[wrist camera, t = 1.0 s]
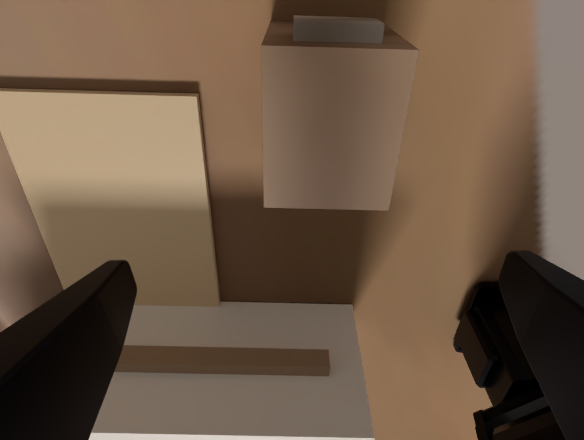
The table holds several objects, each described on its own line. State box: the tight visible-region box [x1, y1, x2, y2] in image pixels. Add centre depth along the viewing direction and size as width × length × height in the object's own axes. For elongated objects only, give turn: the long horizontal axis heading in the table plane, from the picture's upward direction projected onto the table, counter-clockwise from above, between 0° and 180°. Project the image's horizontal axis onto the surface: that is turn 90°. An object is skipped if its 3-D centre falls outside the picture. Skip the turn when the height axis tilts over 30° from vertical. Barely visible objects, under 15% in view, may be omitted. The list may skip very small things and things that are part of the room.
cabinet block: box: [261, 15, 419, 211], centre depth 16 cm, size 5×7×6 cm
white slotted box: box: [0, 88, 375, 440], centre depth 20 cm, size 20×16×9 cm
